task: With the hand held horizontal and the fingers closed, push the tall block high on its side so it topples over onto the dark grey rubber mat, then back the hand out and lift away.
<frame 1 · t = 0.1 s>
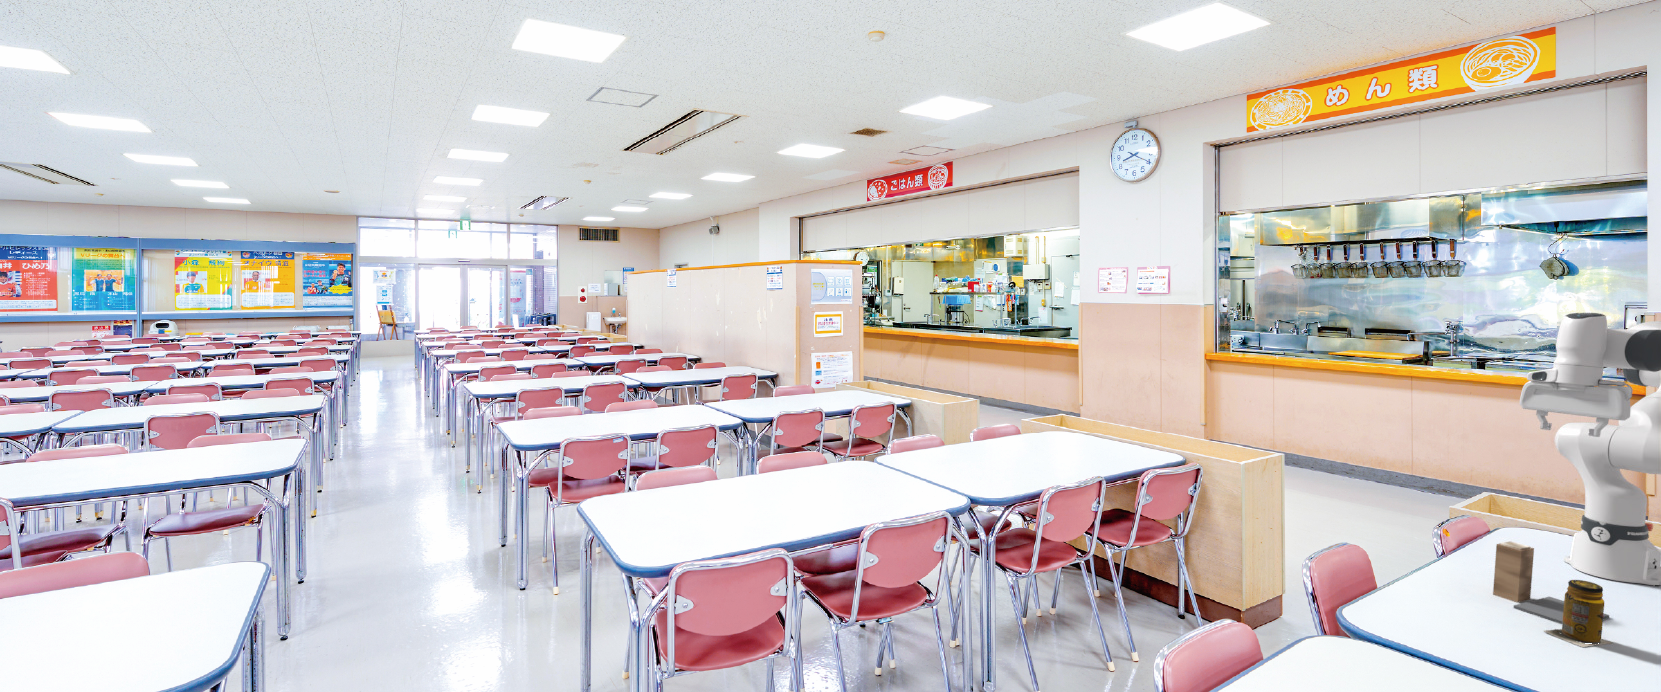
hand: (1569, 433, 187), 39 cm above the table, tool pointing down, fingers open, 8 cm apart
block: (1511, 596, 183), on the table
condiment: (1577, 638, 162), on the table
mat: (1560, 612, 174), on the table
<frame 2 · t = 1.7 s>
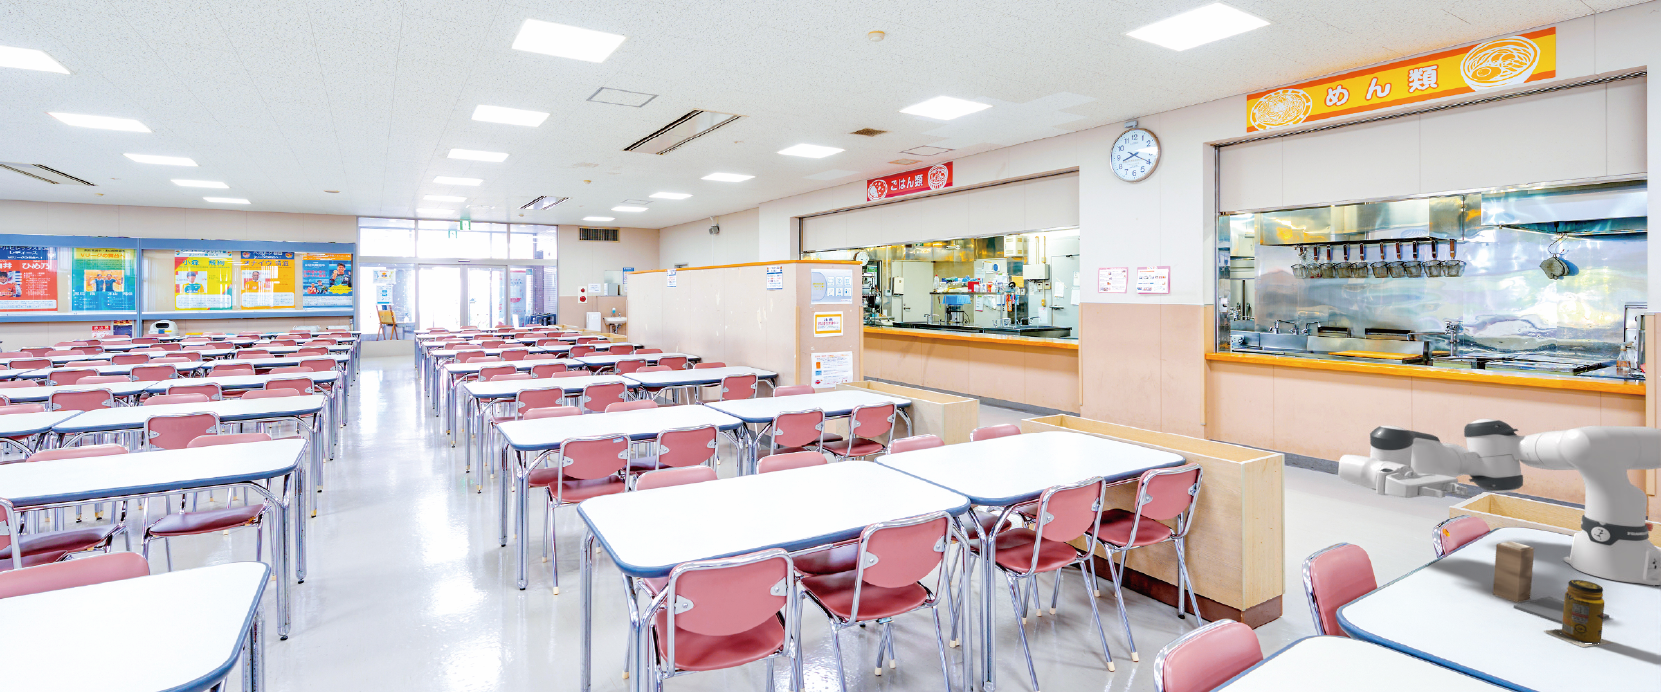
hand: (1454, 493, 194), 22 cm above the table, tool horizontal, fingers open, 7 cm apart
nothing on the table moved.
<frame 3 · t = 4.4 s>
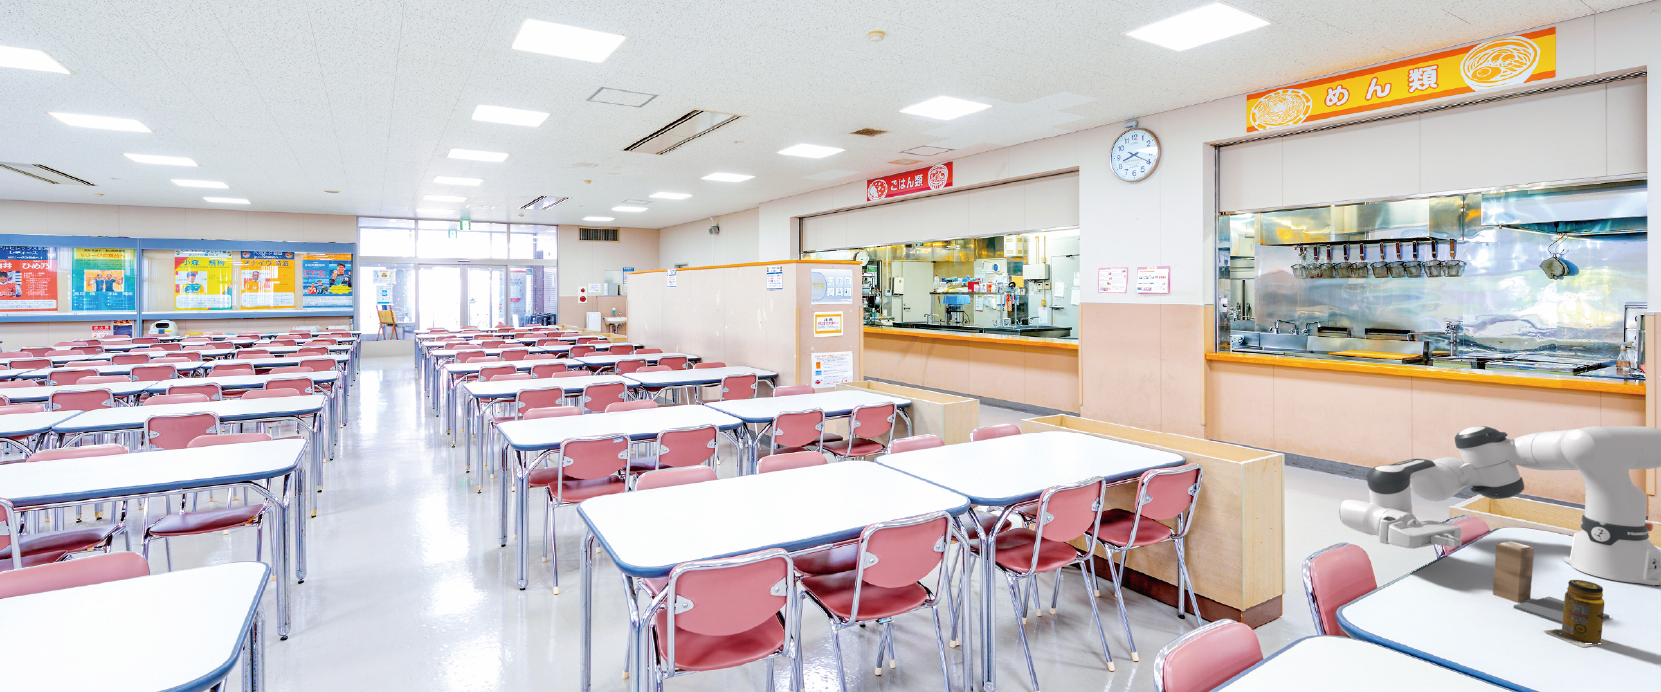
hand: (1458, 543, 193), 9 cm above the table, tool horizontal, fingers closed
nothing on the table moved.
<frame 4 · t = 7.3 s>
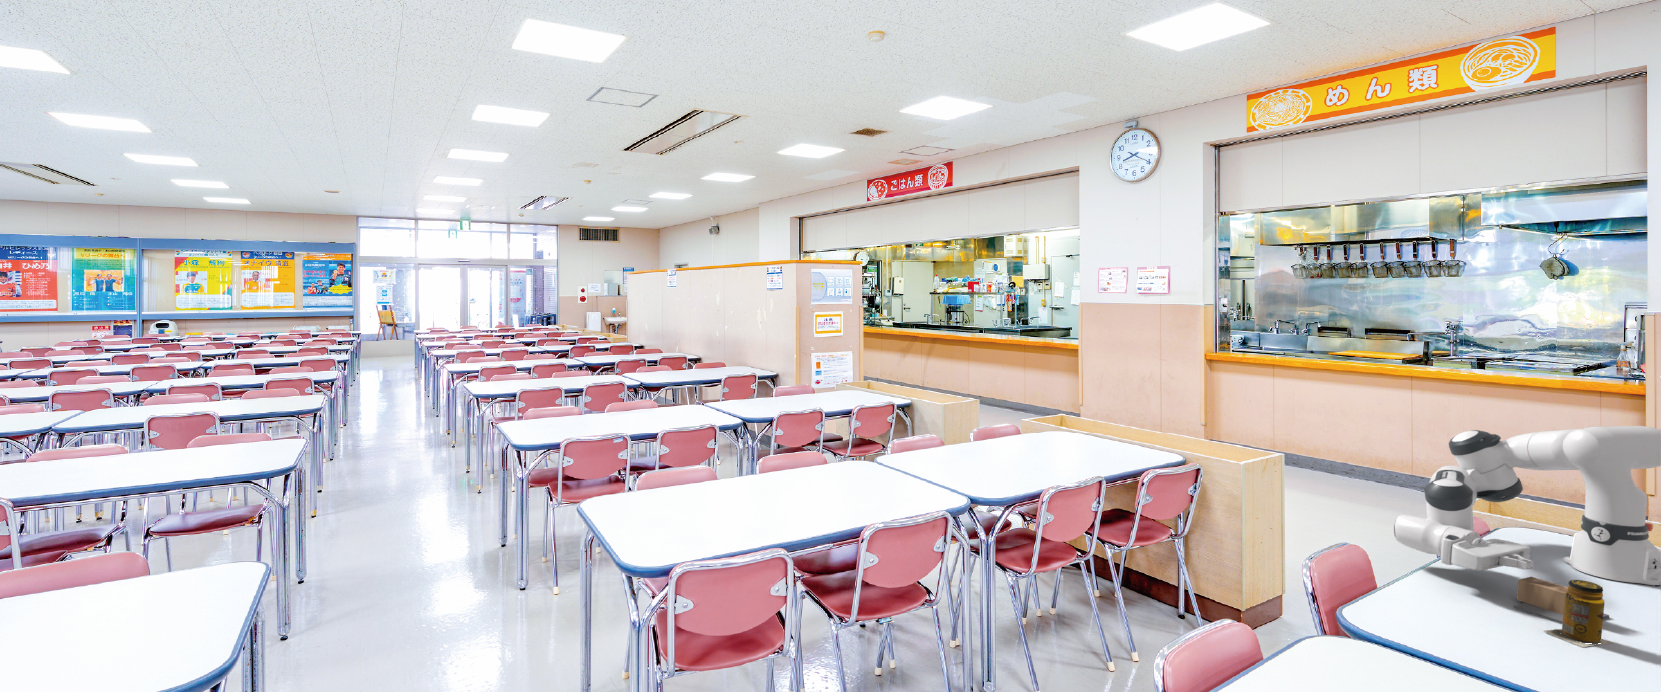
hand: (1530, 565, 179), 9 cm above the table, tool horizontal, fingers closed
block: (1524, 588, 181), point 3 cm above the table, tilted 90°, touching mat
everything else where it was.
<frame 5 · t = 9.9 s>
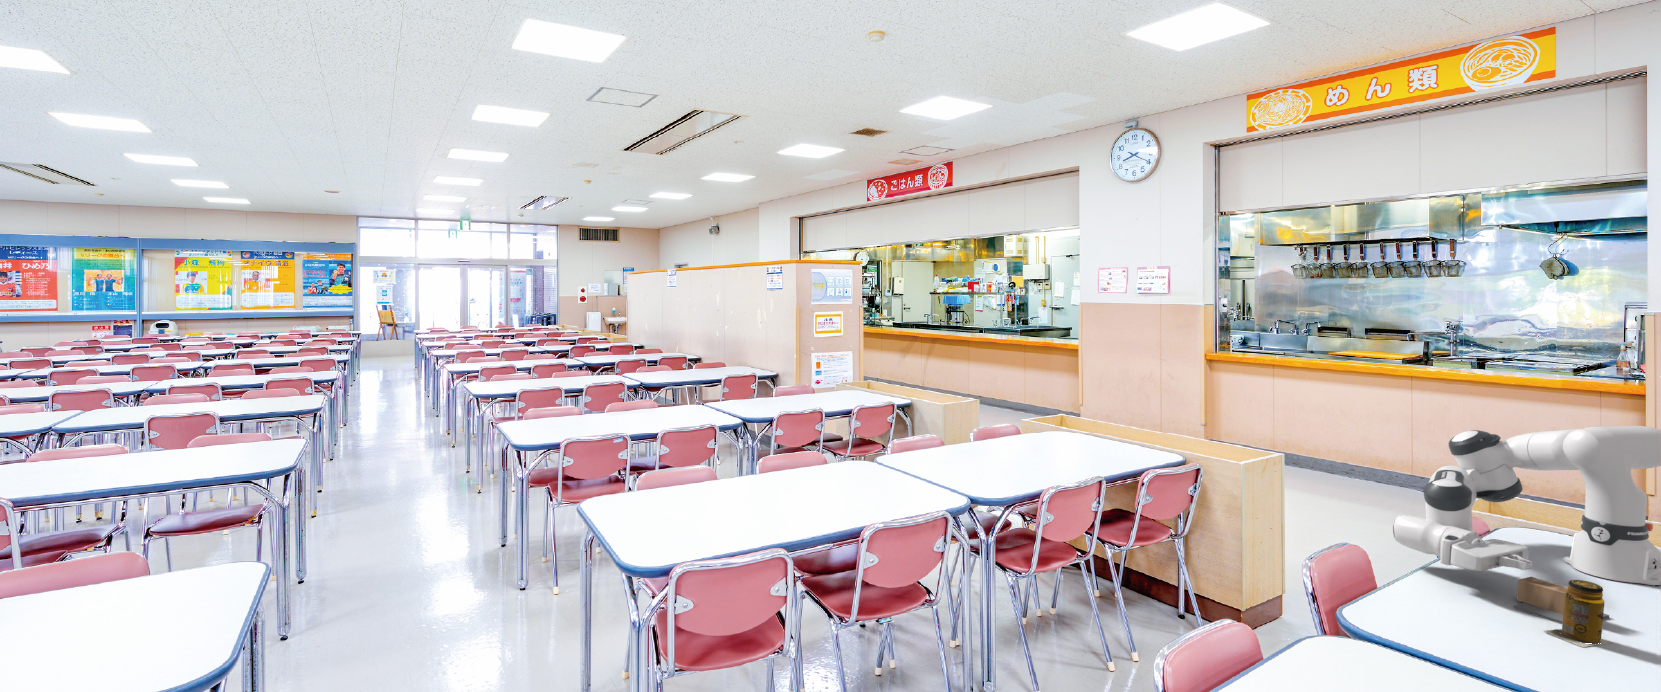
hand: (1529, 566, 179), 9 cm above the table, tool horizontal, fingers closed
nothing on the table moved.
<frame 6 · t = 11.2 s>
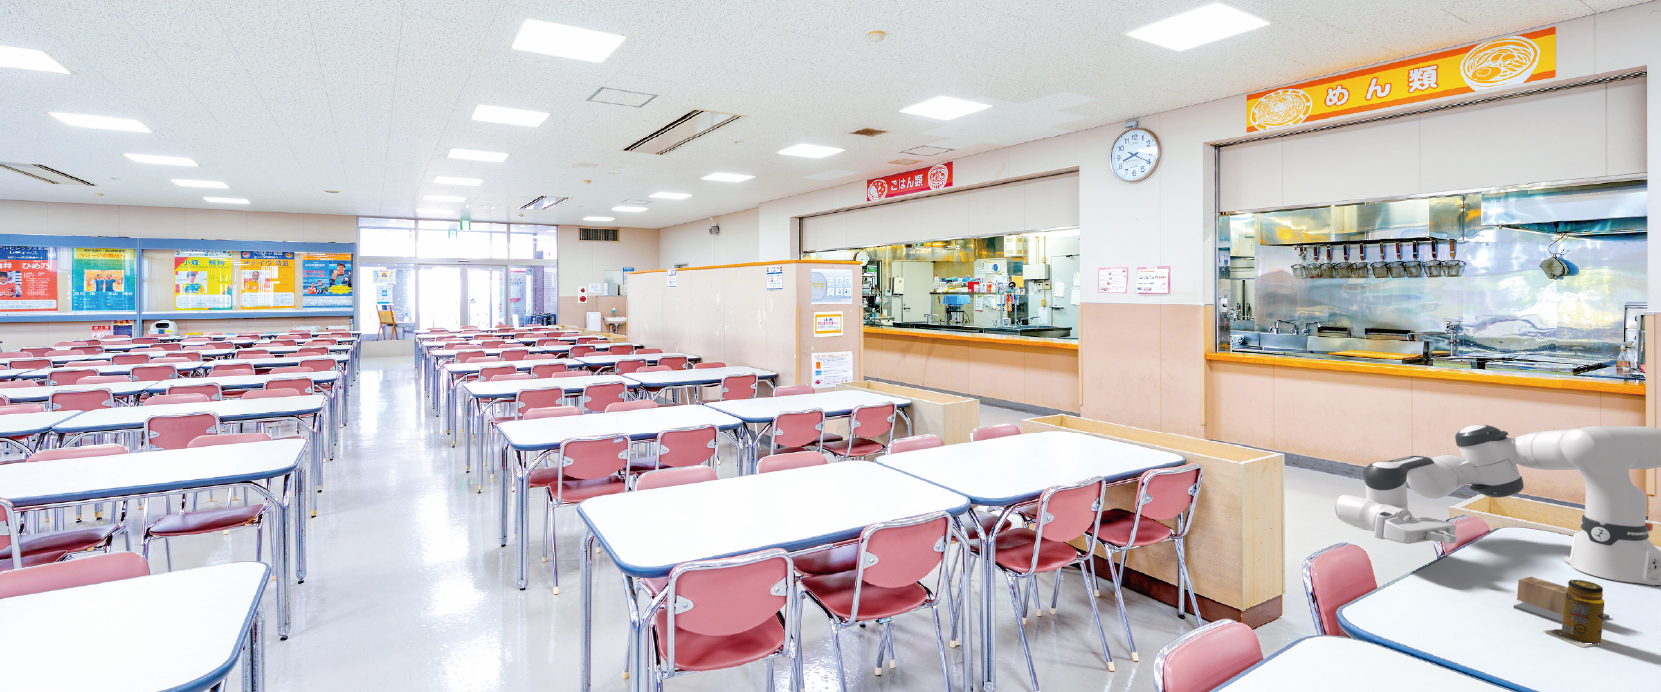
hand: (1453, 540, 195), 10 cm above the table, tool horizontal, fingers closed
nothing on the table moved.
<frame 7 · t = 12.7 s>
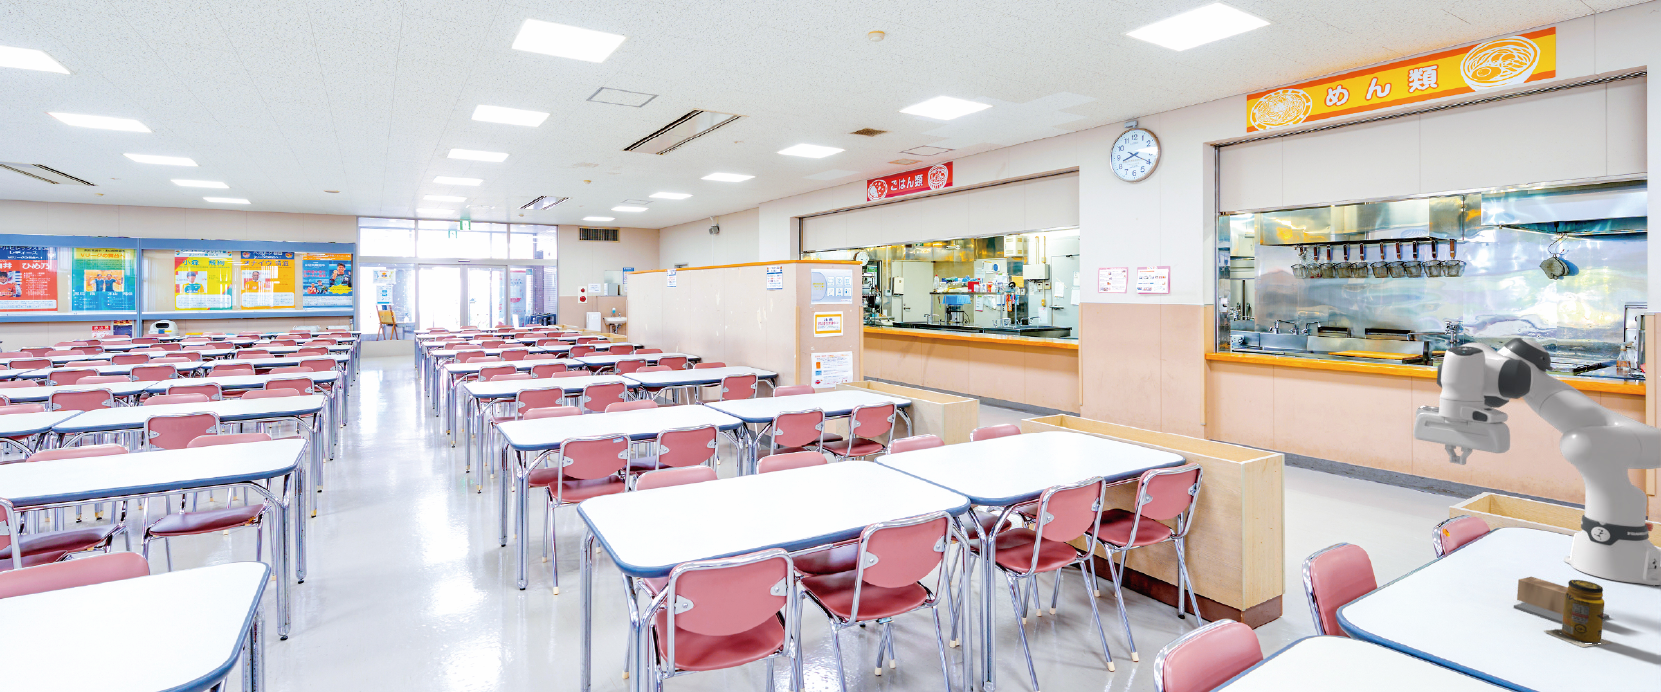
hand: (1457, 463, 194), 30 cm above the table, tool pointing down, fingers closed
nothing on the table moved.
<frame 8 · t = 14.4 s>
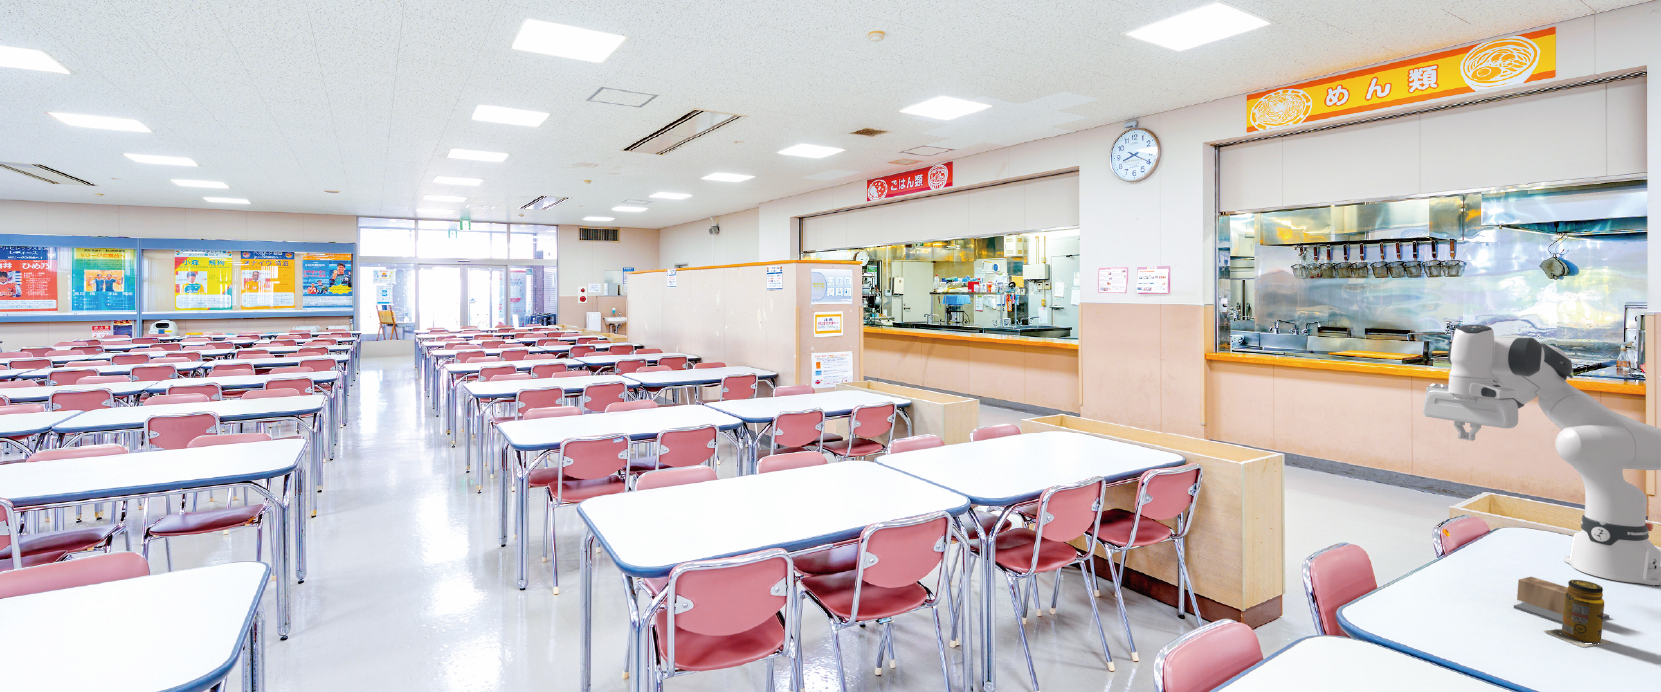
hand: (1466, 439, 198), 35 cm above the table, tool pointing down, fingers closed
nothing on the table moved.
at the end: block tilted 90°; block touching mat; block inside the target area (1.6 cm from its centre), point 3.1 cm above the table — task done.
